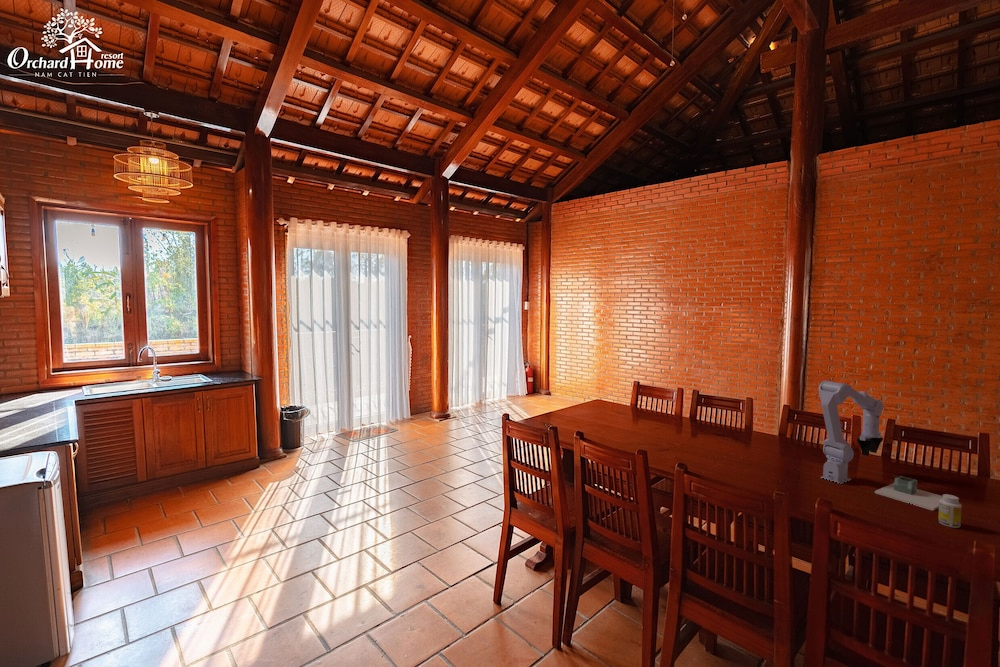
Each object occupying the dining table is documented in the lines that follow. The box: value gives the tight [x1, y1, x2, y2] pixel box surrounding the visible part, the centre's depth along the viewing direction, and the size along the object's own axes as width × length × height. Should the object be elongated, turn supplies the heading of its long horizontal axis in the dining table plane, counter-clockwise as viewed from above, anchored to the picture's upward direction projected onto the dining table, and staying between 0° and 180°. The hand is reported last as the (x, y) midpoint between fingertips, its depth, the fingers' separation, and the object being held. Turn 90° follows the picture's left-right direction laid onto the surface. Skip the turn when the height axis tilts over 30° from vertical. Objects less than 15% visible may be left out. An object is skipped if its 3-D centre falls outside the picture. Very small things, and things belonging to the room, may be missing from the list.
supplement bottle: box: [938, 493, 963, 529], centre depth 155 cm, size 6×6×10 cm
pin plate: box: [874, 482, 943, 511], centre depth 178 cm, size 18×18×5 cm
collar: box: [893, 475, 918, 495], centre depth 182 cm, size 5×5×5 cm
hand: (869, 453), depth 202 cm, fingers open, 7 cm apart
